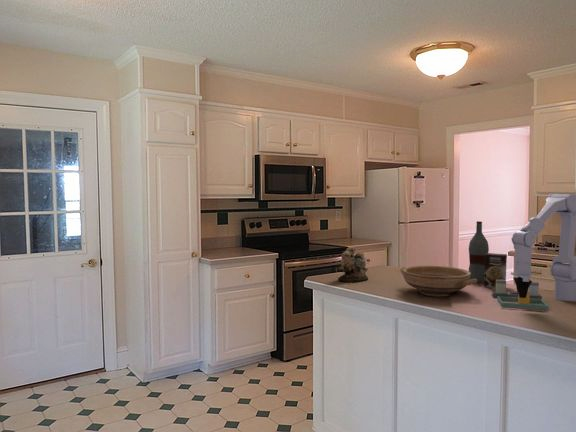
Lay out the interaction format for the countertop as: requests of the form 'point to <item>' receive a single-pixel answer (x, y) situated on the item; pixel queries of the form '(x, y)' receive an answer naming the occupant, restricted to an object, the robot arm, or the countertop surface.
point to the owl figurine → (353, 266)
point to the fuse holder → (512, 295)
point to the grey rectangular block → (534, 288)
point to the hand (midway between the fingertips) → (521, 296)
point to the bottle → (478, 254)
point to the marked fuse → (524, 300)
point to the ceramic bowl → (437, 279)
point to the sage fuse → (501, 286)
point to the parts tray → (518, 305)
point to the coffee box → (494, 269)
